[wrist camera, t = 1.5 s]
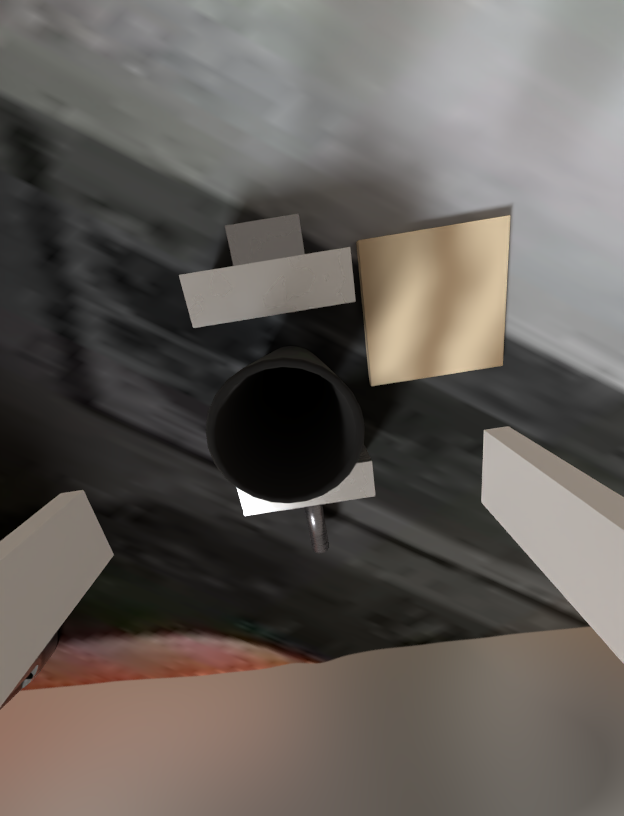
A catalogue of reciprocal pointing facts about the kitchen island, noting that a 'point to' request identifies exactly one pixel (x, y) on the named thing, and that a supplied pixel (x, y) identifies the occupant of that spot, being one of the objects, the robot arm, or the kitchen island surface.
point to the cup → (285, 428)
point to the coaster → (434, 300)
